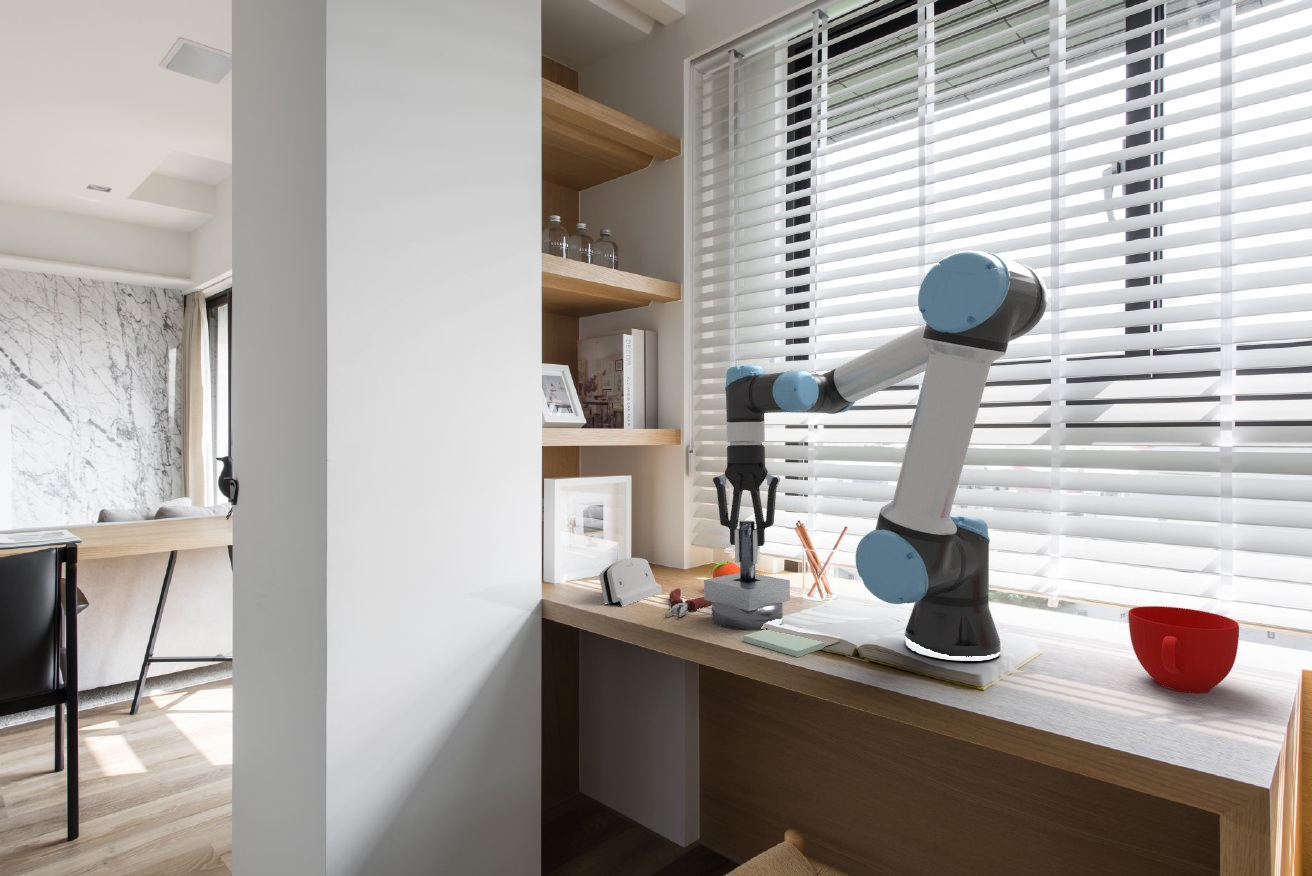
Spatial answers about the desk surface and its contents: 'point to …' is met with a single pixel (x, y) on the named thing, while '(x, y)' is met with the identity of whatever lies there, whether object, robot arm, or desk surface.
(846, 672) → the desk surface
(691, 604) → the pliers
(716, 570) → the clementine
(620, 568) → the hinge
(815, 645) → the sage mat
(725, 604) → the chuck block
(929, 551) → the robot arm
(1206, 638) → the ceramic cup
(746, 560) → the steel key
